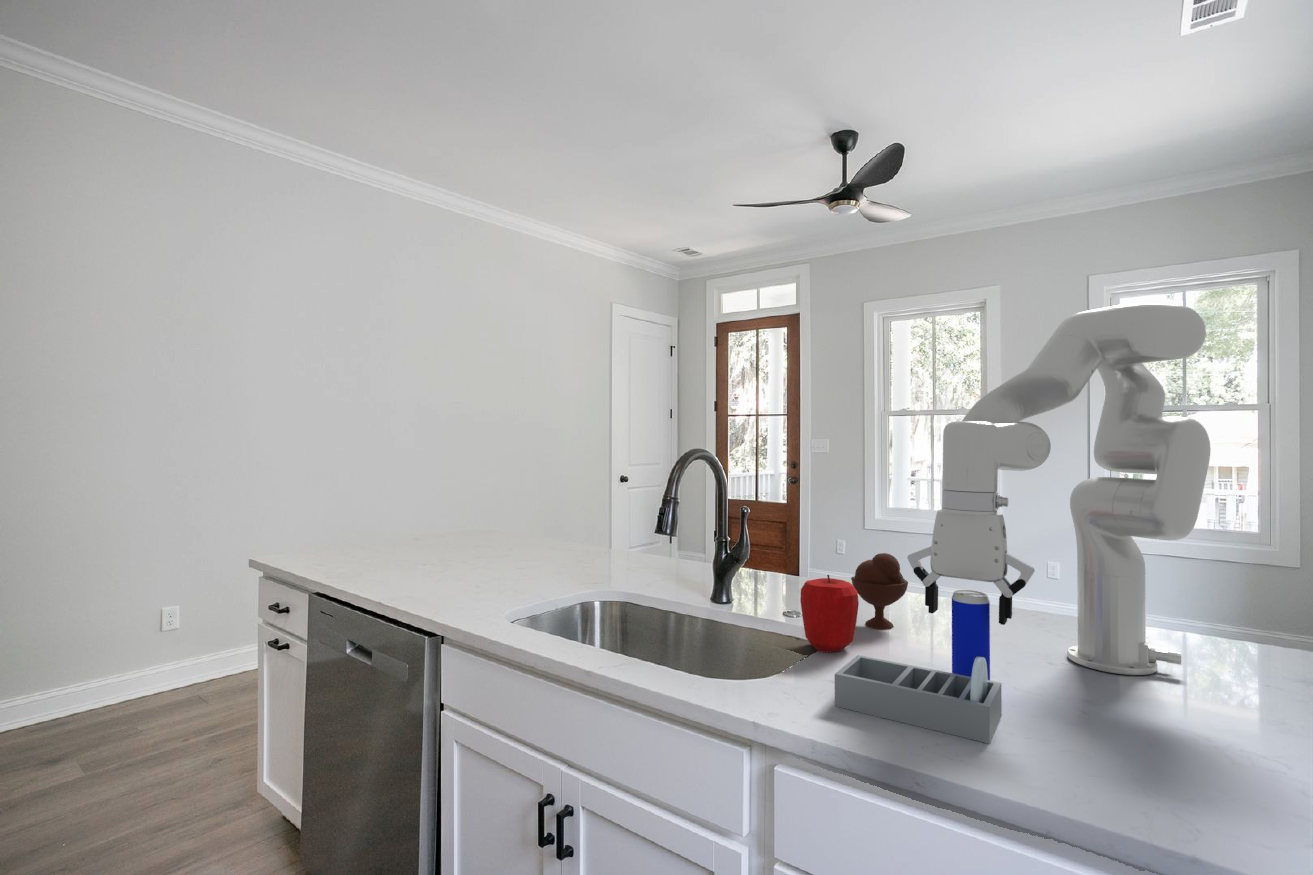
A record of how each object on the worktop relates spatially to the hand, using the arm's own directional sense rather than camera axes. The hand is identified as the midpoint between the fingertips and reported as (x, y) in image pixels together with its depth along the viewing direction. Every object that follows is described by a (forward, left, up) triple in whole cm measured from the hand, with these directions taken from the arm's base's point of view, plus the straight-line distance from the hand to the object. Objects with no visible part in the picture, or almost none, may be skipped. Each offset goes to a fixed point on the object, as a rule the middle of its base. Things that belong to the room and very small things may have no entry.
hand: (967, 616), depth 98 cm
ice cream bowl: (+22, -29, -12) cm, 38 cm away
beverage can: (0, -1, -12) cm, 12 cm away
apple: (+25, -9, -12) cm, 29 cm away
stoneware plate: (-3, +11, -11) cm, 16 cm away
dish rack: (+5, +11, -12) cm, 17 cm away
